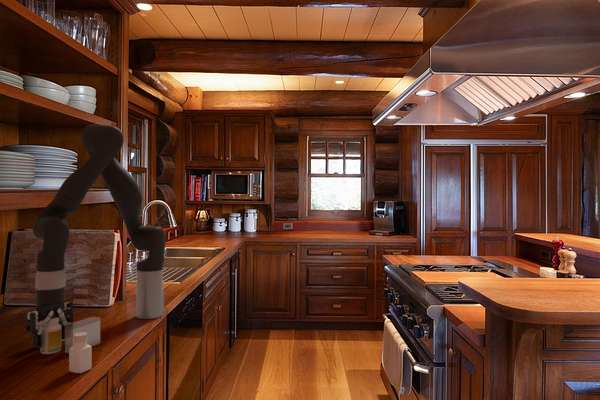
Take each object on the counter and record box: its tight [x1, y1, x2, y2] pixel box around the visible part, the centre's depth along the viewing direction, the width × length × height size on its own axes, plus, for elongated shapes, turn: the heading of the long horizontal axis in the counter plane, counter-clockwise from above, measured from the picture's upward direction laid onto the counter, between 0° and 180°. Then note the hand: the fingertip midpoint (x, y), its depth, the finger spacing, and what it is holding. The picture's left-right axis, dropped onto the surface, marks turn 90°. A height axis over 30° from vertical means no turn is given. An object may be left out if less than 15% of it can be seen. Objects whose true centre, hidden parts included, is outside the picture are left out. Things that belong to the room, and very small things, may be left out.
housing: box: [38, 311, 101, 354], centre depth 136 cm, size 10×15×8 cm, turn 69°
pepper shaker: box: [68, 332, 93, 374], centre depth 117 cm, size 4×4×10 cm
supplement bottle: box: [39, 317, 63, 355], centre depth 131 cm, size 5×5×10 cm
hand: (50, 342), depth 130 cm, fingers open, 7 cm apart
